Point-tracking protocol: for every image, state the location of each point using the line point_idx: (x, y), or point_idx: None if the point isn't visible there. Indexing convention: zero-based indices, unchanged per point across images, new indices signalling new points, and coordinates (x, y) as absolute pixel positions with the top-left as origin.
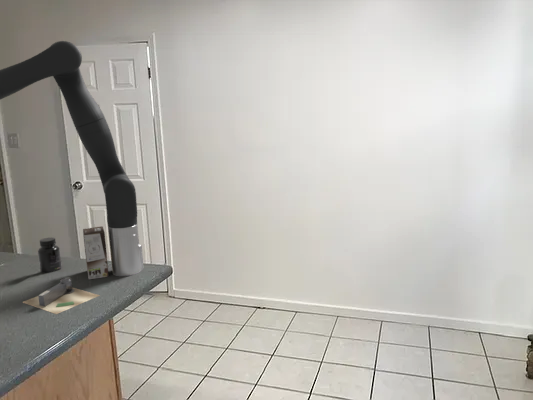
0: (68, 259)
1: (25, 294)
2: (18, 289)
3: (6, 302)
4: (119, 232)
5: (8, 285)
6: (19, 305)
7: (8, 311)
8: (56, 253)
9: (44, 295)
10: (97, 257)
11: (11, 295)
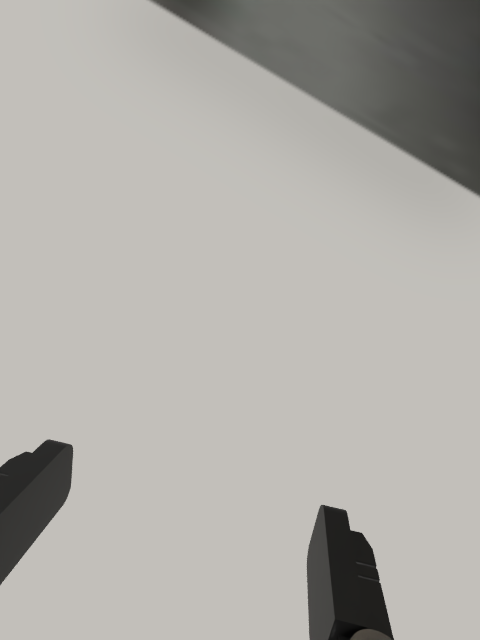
0: None
1: (384, 24)
2: (293, 9)
3: (383, 129)
4: None
5: (203, 10)
6: (470, 116)
7: (475, 176)
8: None
9: None
10: None
11: (332, 73)
